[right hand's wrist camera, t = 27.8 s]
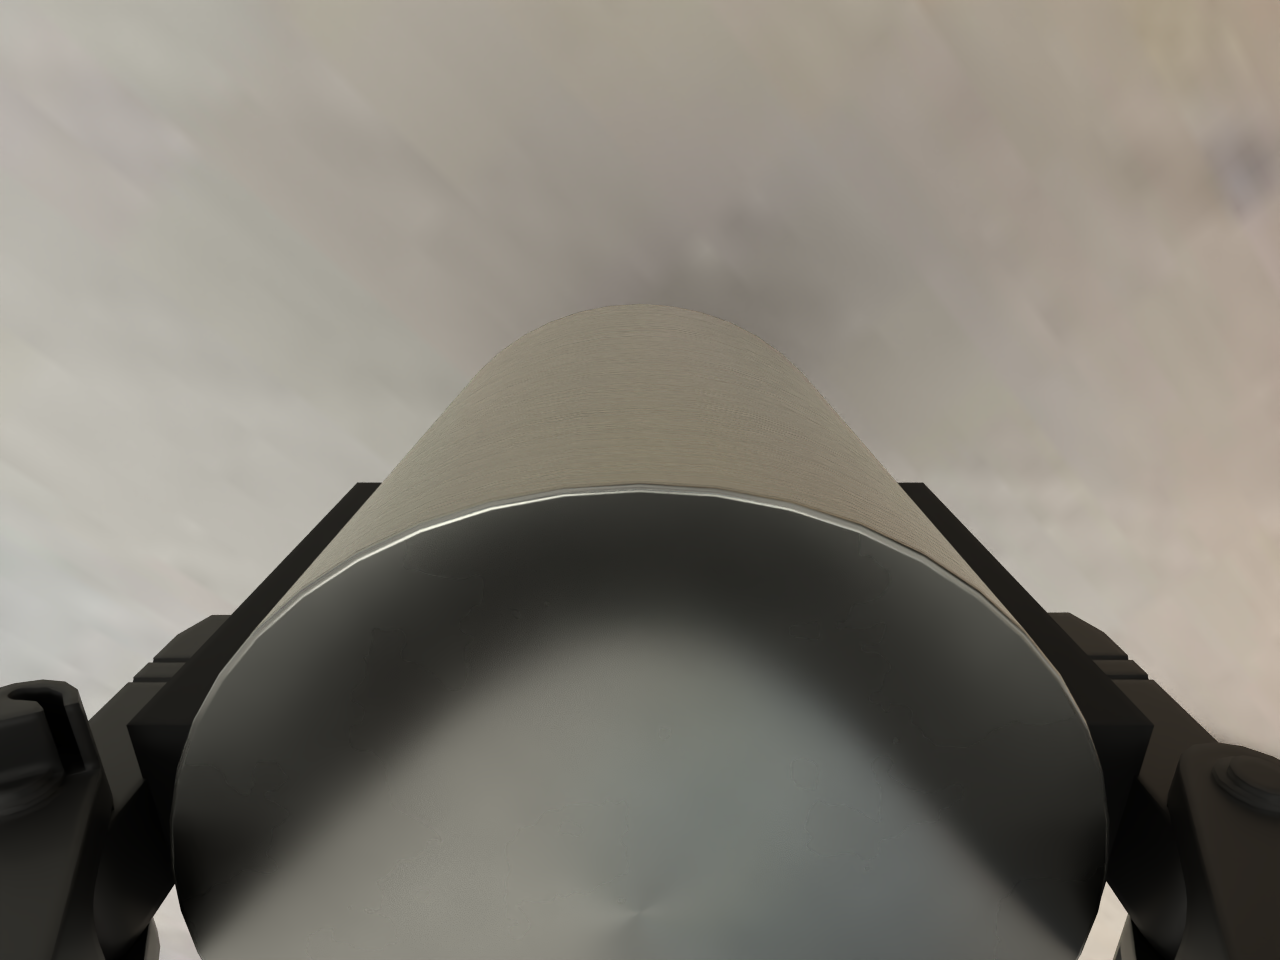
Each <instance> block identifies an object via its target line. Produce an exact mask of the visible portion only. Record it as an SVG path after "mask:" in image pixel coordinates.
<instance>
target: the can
mask: <svg viewBox="0 0 1280 960" xmlns="http://www.w3.org/2000/svg"><path fill="white" fill-rule="evenodd" d="M1109 827H1110V819H1109V812H1108V805H1107V798H1106V791H1105V784H1104V777H1103V771H1102V767H1101V764H1100V761H1099V758H1098V755H1097V752H1096V749H1095V746H1094V743H1093V740H1092V737H1091V734H1090V731H1089V728H1088V725H1087V722H1086V720H1085V718H1084V717H1083V715H1082V713H1081V711H1080V709H1079V707H1078V706H1077V704H1076V702H1075V700H1074V698H1073V697H1072V695H1071V693H1070V691H1069V689H1068V688H1067V686H1066V684H1065V682H1064V680H1063V678H1062V677H1061V675H1060V673H1059V672H1058V671H1057V670H1056V668H1055V667H1054V666H1053V665H1052V663H1051V662H1050V661H1049V660H1048V658H1047V657H1046V656H1045V655H1044V653H1043V652H1042V651H1041V650H1040V648H1039V647H1038V646H1037V645H1036V643H1035V642H1034V641H1033V640H1032V638H1031V637H1030V636H1029V635H1028V633H1027V632H1026V631H1025V630H1024V629H1023V627H1022V626H1021V625H1020V624H1019V623H1018V622H1017V620H1016V619H1015V618H1014V617H1013V616H1012V615H1011V614H1010V612H1009V611H1008V610H1007V609H1006V608H1005V607H1004V605H1003V604H1002V603H1001V602H1000V601H999V600H998V599H997V597H996V596H995V595H994V594H993V593H992V592H991V590H990V589H989V588H988V587H987V586H986V585H985V584H984V582H983V581H982V580H981V579H980V578H979V577H978V575H977V574H976V573H975V572H974V571H973V570H972V569H971V567H970V566H969V565H968V564H967V563H966V562H965V560H964V559H963V558H962V557H961V556H960V555H959V554H958V552H957V551H956V550H955V549H954V548H953V547H952V545H951V544H950V543H949V542H948V541H947V540H946V539H945V537H944V536H943V535H942V534H941V533H940V532H939V530H938V529H937V528H936V527H935V526H934V525H933V523H932V522H931V521H930V520H929V519H928V518H927V517H926V515H925V514H924V513H923V512H922V511H921V510H920V508H919V507H918V506H917V505H916V504H915V503H914V502H913V500H912V499H911V498H910V497H909V496H908V495H907V493H906V492H905V491H904V490H903V489H902V488H901V487H900V485H899V484H898V483H897V482H896V481H895V480H894V478H893V477H892V476H891V475H890V474H889V473H888V472H887V470H886V469H885V468H884V467H883V466H882V465H881V463H880V462H879V461H878V460H877V459H876V458H875V457H874V455H873V454H872V453H871V452H870V451H869V450H868V448H867V447H866V446H865V445H864V444H863V443H862V442H861V440H860V439H859V438H858V437H857V436H856V435H855V433H854V432H853V431H852V430H851V429H850V428H849V427H848V425H847V424H846V423H845V422H844V421H843V420H842V418H841V417H840V416H839V415H838V414H837V413H836V412H835V410H834V409H833V408H832V407H831V406H830V405H829V403H828V402H827V401H826V400H825V399H824V398H823V397H822V395H821V394H820V393H819V392H818V391H817V390H816V388H815V387H814V386H813V385H812V384H811V383H810V381H809V380H808V379H807V378H806V377H805V376H804V375H803V373H802V372H801V371H800V370H799V369H797V368H796V367H795V366H794V365H793V364H792V363H791V362H790V361H789V360H788V359H787V358H786V357H785V356H783V355H782V354H781V353H780V352H779V351H777V350H776V349H775V348H773V347H772V346H770V345H769V344H767V343H766V342H764V341H763V340H762V339H760V338H759V337H757V336H756V335H754V334H752V333H750V332H748V331H746V330H744V329H742V328H740V327H738V326H736V325H734V324H732V323H730V322H728V321H725V320H722V319H719V318H716V317H713V316H710V315H708V314H705V313H702V312H698V311H693V310H688V309H683V308H678V307H673V306H662V305H648V304H632V305H617V306H607V307H602V308H597V309H592V310H587V311H582V312H578V313H575V314H572V315H569V316H567V317H564V318H561V319H558V320H555V321H552V322H550V323H548V324H546V325H544V326H542V327H540V328H538V329H536V330H534V331H532V332H530V333H528V334H526V335H524V336H523V337H521V338H520V339H518V340H517V341H515V342H514V343H513V344H511V345H510V346H508V347H507V348H505V349H504V350H502V351H501V352H500V353H499V354H497V355H496V356H495V357H494V358H493V359H492V360H491V361H490V362H489V363H488V364H487V365H486V366H484V367H483V368H482V369H481V370H480V371H479V372H478V373H477V374H476V376H475V377H474V378H473V379H472V380H471V381H470V382H469V384H468V385H467V386H466V387H465V388H464V389H463V391H462V392H461V393H460V394H459V395H458V396H457V397H456V399H455V400H454V401H453V402H452V403H451V404H450V405H449V407H448V408H447V409H446V410H445V411H444V412H443V414H442V415H441V416H440V417H439V418H438V419H437V420H436V422H435V423H434V424H433V425H432V426H431V427H430V428H429V430H428V431H427V432H426V433H425V434H424V435H423V437H422V438H421V439H420V440H419V441H418V442H417V443H416V445H415V446H414V447H413V448H412V449H411V450H410V451H409V453H408V454H407V455H406V456H405V457H404V458H403V460H402V461H401V462H400V463H399V464H398V465H397V466H396V468H395V469H394V470H393V471H392V472H391V473H390V474H389V476H388V477H387V478H386V479H385V480H384V481H383V483H382V484H381V485H380V486H379V487H378V488H377V489H376V491H375V492H374V493H373V494H372V495H371V496H370V497H369V499H368V500H367V501H366V502H365V503H364V504H363V506H362V507H361V508H360V509H359V510H358V511H357V512H356V514H355V515H354V516H353V517H352V518H351V519H350V520H349V522H348V523H347V524H346V525H345V526H344V527H343V528H342V530H341V531H340V532H339V533H338V534H337V535H336V537H335V538H334V539H333V540H332V541H331V542H330V543H329V545H328V546H327V547H326V548H325V549H324V550H323V551H322V553H321V554H320V555H319V556H318V557H317V558H316V560H315V561H314V562H313V563H312V564H311V565H310V566H309V568H308V569H307V570H306V571H305V572H304V573H303V574H302V576H301V577H300V578H299V579H298V580H297V581H296V583H295V584H294V585H293V586H292V587H291V588H290V589H289V591H288V592H287V593H286V594H285V595H284V596H283V597H282V599H281V600H280V601H279V602H278V603H277V604H276V606H275V607H274V608H273V609H272V610H271V611H270V612H269V614H268V615H267V616H266V617H265V618H264V619H263V620H262V622H261V623H260V624H259V625H258V626H257V627H256V629H255V630H254V631H253V632H252V633H251V635H250V636H249V637H248V638H247V640H246V641H245V642H244V643H243V645H242V646H241V647H240V648H239V650H238V651H237V652H236V653H235V655H234V656H233V657H232V658H231V660H230V661H229V662H228V663H227V664H226V666H225V667H224V668H223V669H222V671H221V672H220V673H219V675H218V677H217V679H216V680H215V682H214V684H213V686H212V688H211V689H210V691H209V693H208V695H207V697H206V698H205V700H204V702H203V704H202V706H201V707H200V709H199V711H198V713H197V715H196V716H195V718H194V720H193V723H192V726H191V729H190V732H189V735H188V738H187V741H186V743H185V746H184V749H183V752H182V755H181V758H180V761H179V764H178V767H177V772H176V779H175V785H174V792H173V799H172V806H171V813H170V846H171V867H172V872H173V877H174V881H175V886H176V890H177V895H178V899H179V904H180V909H181V912H182V915H183V917H184V920H185V922H186V925H187V927H188V930H189V932H190V935H191V937H192V940H193V942H194V945H195V947H196V950H197V952H198V954H199V956H200V957H201V959H202V960H1078V958H1079V956H1080V955H1081V953H1082V950H1083V948H1084V945H1085V943H1086V940H1087V938H1088V935H1089V933H1090V930H1091V928H1092V926H1093V923H1094V921H1095V918H1096V916H1097V913H1098V910H1099V905H1100V901H1101V896H1102V892H1103V887H1104V883H1105V878H1106V874H1107V869H1108V851H1109Z"/></svg>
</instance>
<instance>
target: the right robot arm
mask: <svg viewBox="0 0 1280 960" xmlns="http://www.w3.org/2000/svg"><path fill="white" fill-rule="evenodd" d="M381 484H382V483H357V484H356V485H355V486H354V487H353V488H352V489H351V490H350V491H349V492H348V493H347V494H346V495H345V496H344V497H343V498H342V499H341V500H340V501H339V503H338V504H337V505H336V506H335V507H334V508H333V509H332V510H331V511H330V512H329V513H328V514H327V515H326V516H325V517H324V518H323V519H322V520H321V521H320V522H319V523H318V525H317V526H316V527H315V528H314V529H313V530H312V531H311V532H310V533H309V534H308V535H307V536H306V537H305V538H304V539H303V540H302V541H301V542H300V543H299V544H298V546H297V547H296V548H295V549H294V550H293V551H292V552H291V553H290V554H289V555H288V556H287V557H286V558H285V559H284V560H283V561H282V562H281V563H280V564H279V565H278V566H277V568H276V569H275V570H274V571H273V572H272V573H271V574H270V575H269V576H268V577H267V578H266V579H265V580H264V581H263V582H262V583H261V584H260V585H259V586H258V587H257V589H256V590H255V591H254V592H253V593H252V594H251V595H250V596H249V597H248V598H247V599H246V600H245V601H244V602H243V603H242V604H241V605H240V606H239V607H238V608H237V609H236V611H235V612H234V613H233V614H232V615H211V616H209V617H208V618H206V619H204V620H202V621H201V622H199V623H197V624H195V625H194V626H192V627H190V628H188V629H187V630H185V631H183V632H181V633H180V634H178V635H177V636H176V637H175V638H174V639H173V640H172V641H170V642H169V643H168V644H167V645H166V646H165V647H164V648H163V649H162V650H161V651H160V652H159V653H158V654H157V655H156V656H155V657H154V658H153V659H154V660H153V663H148V664H147V665H146V666H145V667H144V668H143V669H142V670H141V671H140V672H139V673H137V674H136V675H135V676H134V677H133V678H134V680H133V682H128V683H127V684H126V685H125V686H124V687H123V688H122V689H121V690H120V691H119V692H118V693H117V694H116V695H115V696H114V697H113V698H112V699H111V700H110V701H109V702H108V703H107V704H105V705H104V706H103V707H102V708H101V709H100V710H99V711H98V712H97V713H96V714H95V715H94V716H93V717H92V718H91V719H90V720H89V721H88V719H87V716H86V713H85V710H84V707H83V704H82V701H81V698H80V695H79V692H78V689H76V688H74V687H73V686H71V685H70V684H68V683H66V682H64V681H53V680H36V681H28V682H21V683H14V684H11V685H7V686H4V687H0V960H159V952H160V943H159V937H158V931H157V928H156V925H155V922H154V919H153V916H154V914H155V913H156V911H157V910H158V908H159V907H160V905H161V904H162V902H163V901H164V899H165V898H166V896H167V895H168V893H169V892H170V890H171V889H172V887H173V886H174V884H175V881H174V877H173V872H172V867H171V846H170V813H171V806H172V799H173V792H174V785H175V779H176V772H177V767H178V764H179V761H180V758H181V755H182V752H183V749H184V746H185V743H186V741H187V738H188V735H189V732H190V729H191V726H192V723H193V720H194V718H195V716H196V715H197V713H198V711H199V709H200V707H201V706H202V704H203V702H204V700H205V698H206V697H207V695H208V693H209V691H210V689H211V688H212V686H213V684H214V682H215V680H216V679H217V677H218V675H219V673H220V672H221V671H222V669H223V668H224V667H225V666H226V664H227V663H228V662H229V661H230V660H231V658H232V657H233V656H234V655H235V653H236V652H237V651H238V650H239V648H240V647H241V646H242V645H243V643H244V642H245V641H246V640H247V638H248V637H249V636H250V635H251V633H252V632H253V631H254V630H255V629H256V627H257V626H258V625H259V624H260V623H261V622H262V620H263V619H264V618H265V617H266V616H267V615H268V614H269V612H270V611H271V610H272V609H273V608H274V607H275V606H276V604H277V603H278V602H279V601H280V600H281V599H282V597H283V596H284V595H285V594H286V593H287V592H288V591H289V589H290V588H291V587H292V586H293V585H294V584H295V583H296V581H297V580H298V579H299V578H300V577H301V576H302V574H303V573H304V572H305V571H306V570H307V569H308V568H309V566H310V565H311V564H312V563H313V562H314V561H315V560H316V558H317V557H318V556H319V555H320V554H321V553H322V551H323V550H324V549H325V548H326V547H327V546H328V545H329V543H330V542H331V541H332V540H333V539H334V538H335V537H336V535H337V534H338V533H339V532H340V531H341V530H342V528H343V527H344V526H345V525H346V524H347V523H348V522H349V520H350V519H351V518H352V517H353V516H354V515H355V514H356V512H357V511H358V510H359V509H360V508H361V507H362V506H363V504H364V503H365V502H366V501H367V500H368V499H369V497H370V496H371V495H372V494H373V493H374V492H375V491H376V489H377V488H378V487H379V486H380V485H381ZM898 484H899V485H900V487H901V488H902V489H903V490H904V491H905V492H906V493H907V495H908V496H909V497H910V498H911V499H912V500H913V502H914V503H915V504H916V505H917V506H918V507H919V508H920V510H921V511H922V512H923V513H924V514H925V515H926V517H927V518H928V519H929V520H930V521H931V522H932V523H933V525H934V526H935V527H936V528H937V529H938V530H939V532H940V533H941V534H942V535H943V536H944V537H945V539H946V540H947V541H948V542H949V543H950V544H951V545H952V547H953V548H954V549H955V550H956V551H957V552H958V554H959V555H960V556H961V557H962V558H963V559H964V560H965V562H966V563H967V564H968V565H969V566H970V567H971V569H972V570H973V571H974V572H975V573H976V574H977V575H978V577H979V578H980V579H981V580H982V581H983V582H984V584H985V585H986V586H987V587H988V588H989V589H990V590H991V592H992V593H993V594H994V595H995V596H996V597H997V599H998V600H999V601H1000V602H1001V603H1002V604H1003V605H1004V607H1005V608H1006V609H1007V610H1008V611H1009V612H1010V614H1011V615H1012V616H1013V617H1014V618H1015V619H1016V620H1017V622H1018V623H1019V624H1020V625H1021V626H1022V627H1023V629H1024V630H1025V631H1026V632H1027V633H1028V635H1029V636H1030V637H1031V638H1032V640H1033V641H1034V642H1035V643H1036V645H1037V646H1038V647H1039V648H1040V650H1041V651H1042V652H1043V653H1044V655H1045V656H1046V657H1047V658H1048V660H1049V661H1050V662H1051V663H1052V665H1053V666H1054V667H1055V668H1056V670H1057V671H1058V672H1059V673H1060V675H1061V677H1062V678H1063V680H1064V682H1065V684H1066V686H1067V688H1068V689H1069V691H1070V693H1071V695H1072V697H1073V698H1074V700H1075V702H1076V704H1077V706H1078V707H1079V709H1080V711H1081V713H1082V715H1083V717H1084V718H1085V720H1086V722H1087V725H1088V728H1089V731H1090V734H1091V737H1092V740H1093V743H1094V746H1095V749H1096V752H1097V755H1098V758H1099V761H1100V764H1101V767H1102V771H1103V777H1104V784H1105V791H1106V798H1107V805H1108V812H1109V819H1110V827H1109V851H1108V869H1107V874H1106V878H1105V883H1106V881H1107V883H1108V884H1109V886H1110V887H1111V889H1112V890H1113V892H1114V893H1115V895H1116V896H1117V898H1118V899H1119V901H1120V902H1121V904H1122V905H1123V907H1124V908H1125V910H1126V911H1127V913H1128V916H1127V919H1126V922H1125V925H1124V928H1123V931H1122V934H1121V937H1120V940H1119V943H1118V946H1117V949H1116V952H1115V955H1114V958H1113V960H1280V760H1279V759H1277V758H1275V757H1273V756H1270V755H1267V754H1264V753H1261V752H1258V751H1255V750H1252V749H1249V748H1246V747H1243V746H1237V745H1230V744H1224V743H1218V742H1217V741H1216V740H1215V739H1214V738H1213V737H1212V736H1211V735H1210V734H1209V733H1208V732H1207V731H1206V730H1205V729H1204V728H1203V727H1202V726H1201V725H1200V724H1199V723H1198V722H1197V721H1195V720H1194V719H1193V718H1192V717H1191V716H1190V715H1189V714H1188V713H1187V712H1186V711H1185V710H1184V709H1183V708H1182V707H1181V706H1180V705H1179V704H1178V703H1177V702H1176V701H1175V700H1174V699H1173V698H1172V697H1171V696H1169V695H1168V694H1167V693H1166V692H1165V691H1164V690H1163V689H1162V688H1161V687H1160V686H1159V685H1158V684H1157V683H1156V682H1155V681H1154V680H1149V679H1148V674H1147V673H1146V672H1145V671H1144V670H1142V669H1141V668H1140V667H1139V666H1138V665H1137V664H1136V663H1135V662H1134V661H1133V660H1128V655H1127V654H1126V653H1125V652H1124V651H1123V650H1122V649H1121V648H1120V647H1119V646H1118V645H1116V644H1115V643H1114V642H1113V641H1112V640H1111V639H1110V638H1109V637H1108V636H1107V635H1106V634H1105V633H1104V632H1102V631H1101V630H1099V629H1097V628H1095V627H1094V626H1092V625H1090V624H1088V623H1087V622H1085V621H1083V620H1081V619H1079V618H1078V617H1076V616H1074V615H1072V614H1071V613H1047V612H1046V611H1045V610H1044V609H1043V608H1042V607H1041V606H1040V605H1039V604H1038V603H1037V602H1036V601H1035V599H1034V598H1033V597H1032V596H1031V595H1030V594H1029V593H1028V592H1027V591H1026V590H1025V589H1024V588H1023V587H1022V586H1021V585H1020V584H1019V583H1018V582H1017V581H1016V580H1015V579H1014V577H1013V576H1012V575H1011V574H1010V573H1009V572H1008V571H1007V570H1006V569H1005V568H1004V567H1003V566H1002V565H1001V564H1000V563H999V562H998V561H997V560H996V559H995V558H994V557H993V555H992V554H991V553H990V552H989V551H988V550H987V549H986V548H985V547H984V546H983V545H982V544H981V543H980V542H979V541H978V540H977V539H976V538H975V537H974V536H973V535H972V533H971V532H970V531H969V530H968V529H967V528H966V527H965V526H964V525H963V524H962V523H961V522H960V521H959V520H958V519H957V518H956V517H955V516H954V515H953V514H952V512H951V511H950V510H949V509H948V508H947V507H946V506H945V505H944V504H943V503H942V502H941V501H940V500H939V499H938V498H937V497H936V496H935V495H934V494H933V493H932V492H931V490H930V489H929V488H928V487H927V486H926V485H925V484H924V483H898ZM1105 883H1104V887H1105ZM1104 887H1103V890H1104ZM1102 893H1103V892H1102Z"/></svg>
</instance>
